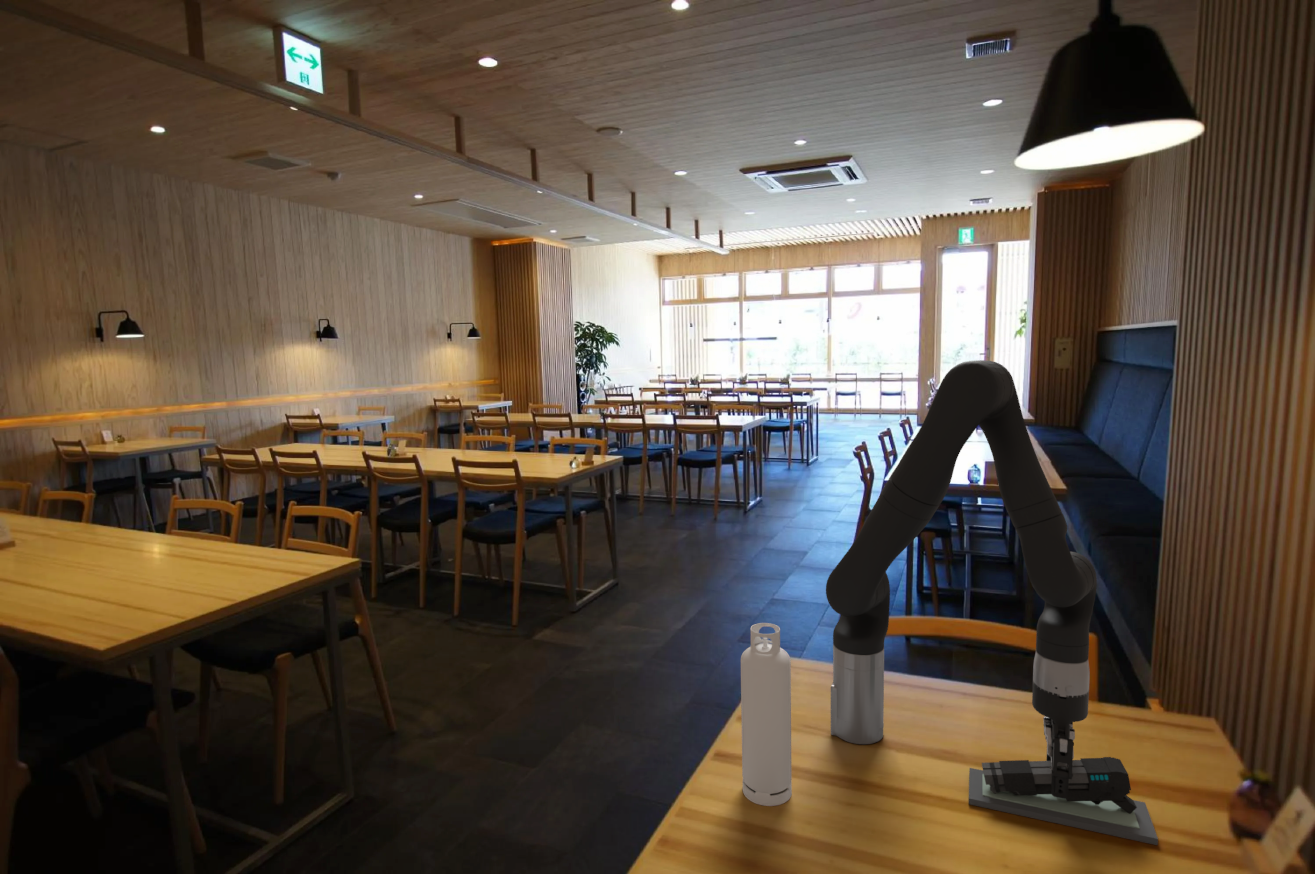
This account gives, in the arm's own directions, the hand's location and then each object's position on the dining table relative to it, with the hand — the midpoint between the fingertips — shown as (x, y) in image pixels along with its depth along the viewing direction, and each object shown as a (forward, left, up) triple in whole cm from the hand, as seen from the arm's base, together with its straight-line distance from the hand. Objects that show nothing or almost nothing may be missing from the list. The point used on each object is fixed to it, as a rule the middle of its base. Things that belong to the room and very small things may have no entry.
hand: (1056, 780), depth 111 cm
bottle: (-43, -13, -4) cm, 45 cm away
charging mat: (0, 0, -4) cm, 4 cm away
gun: (0, 0, -3) cm, 3 cm away
